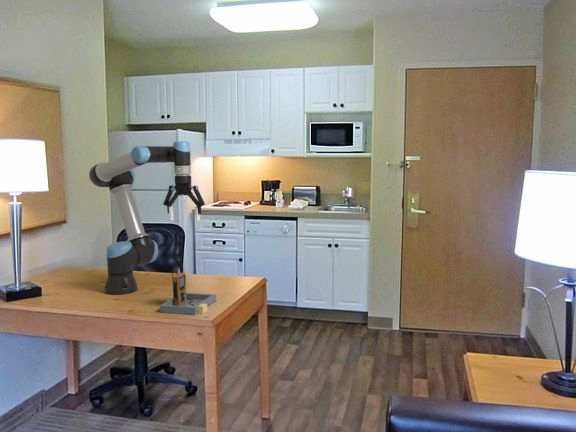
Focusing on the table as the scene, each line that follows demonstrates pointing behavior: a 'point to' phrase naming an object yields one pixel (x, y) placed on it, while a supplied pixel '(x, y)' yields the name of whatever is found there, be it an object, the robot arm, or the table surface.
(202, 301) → the tray
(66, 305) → the table surface
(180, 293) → the multimeter
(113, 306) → the table surface
